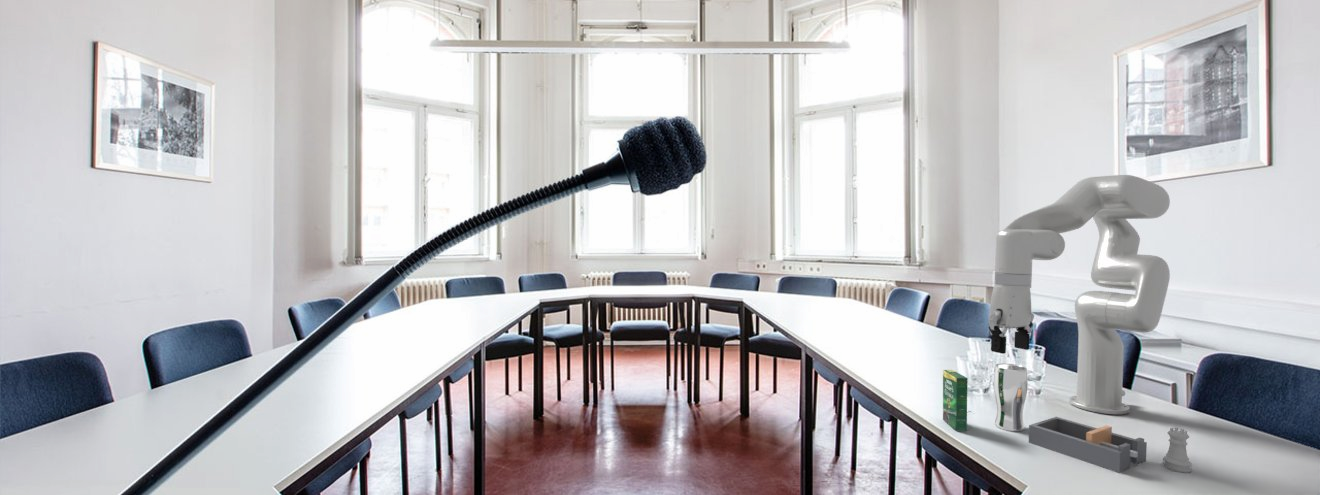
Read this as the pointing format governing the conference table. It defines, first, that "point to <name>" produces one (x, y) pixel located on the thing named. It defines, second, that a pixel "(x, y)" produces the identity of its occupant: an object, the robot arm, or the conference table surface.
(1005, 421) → the beer glass
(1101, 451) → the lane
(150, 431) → the conference table surface
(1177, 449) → the rook chess piece
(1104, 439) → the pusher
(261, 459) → the conference table surface
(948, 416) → the coffee box
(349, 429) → the conference table surface
